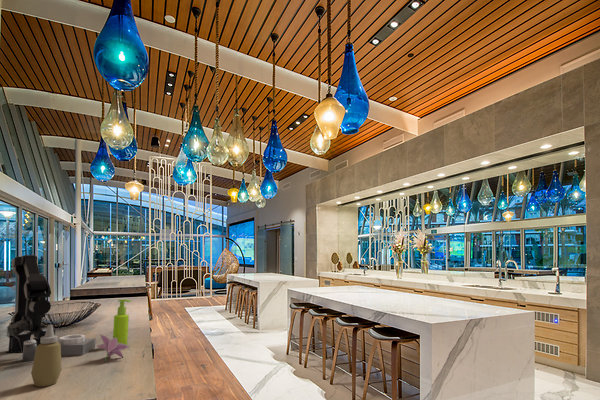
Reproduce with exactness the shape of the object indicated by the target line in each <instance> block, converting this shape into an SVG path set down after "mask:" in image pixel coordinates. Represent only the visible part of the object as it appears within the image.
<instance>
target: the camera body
mask: <svg viewBox="0 0 600 400" xmlns="http://www.w3.org/2000/svg"><path fill="white" fill-rule="evenodd" d="M58 339H59V340H58V341H57V342H58V343H60V344H61V357H63V356H65V357H67V356H84V355H86V354H88V353H89V352H90V351H92V350H94V349H95V348H96V341H97V339H96V338H94V337H93V338H91V337H89V338H88V337H87V338H86V335H85V334H70V335H63V336H61V337H59V338H58Z"/></svg>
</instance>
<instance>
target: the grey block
mask: <svg viewBox="0 0 600 400" xmlns="http://www.w3.org/2000/svg"><path fill="white" fill-rule="evenodd" d="M35 352H36V341H35V340H34V339H30V340H28V341H24V346H23V353H22V360H21V361H22V362H23V363H30V362H34V357H35Z"/></svg>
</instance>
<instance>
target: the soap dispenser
mask: <svg viewBox="0 0 600 400" xmlns="http://www.w3.org/2000/svg"><path fill="white" fill-rule="evenodd" d="M117 302H119V306H118V307H117V312H116V313H117V314H115V315H114V316H113V334H112V339H113V338H114V337H116V338H117V341H118V343H122V344H125V345H128V338H129V337H128V335H129V318H130V317H129V314H127V307H126V306H125V302H127V303H131V302H132V300H131V299H118V301H117Z"/></svg>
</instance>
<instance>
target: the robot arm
mask: <svg viewBox="0 0 600 400" xmlns="http://www.w3.org/2000/svg"><path fill="white" fill-rule="evenodd" d="M11 268H12V273H13V274H14V275H15V277H16V278H17V279H16V299H15V300H16V303H15V304H16V305H15V312H14V314H13V316H12V317H11V319H10V322H9V324H8V326H7V327H6V337H7V338H9V341H8V350H6V351H5V353H7V354H8V353H22V354H23V346H24V341H28V340H31V339H32V340H35V341H36V347H37V346H38V345H39V344H42V343H40V340H41V337H44V336H45V333H46V330H47V327H48V326H47V327H45V325H46V324H43V318H45V317H46V314H48V313H49V312H50V310H51V307H52V305H51V303H50V301H49V300H47V299H46V298H50V297H51V295H52V291H51V286H50V283H49V282H48V280H47V278H46V276H44V275H41V272H40V271H41V270H40V269H39V265H38V256H37V255H35V254H24V255H20V256H16V257H14V258H13V259H12V260H11ZM53 332H54V335H56V329H55V328H54V327H53ZM32 336H34V337H33V338H31V337H32Z"/></svg>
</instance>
